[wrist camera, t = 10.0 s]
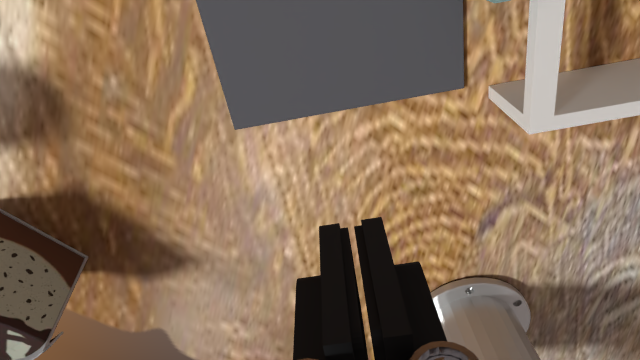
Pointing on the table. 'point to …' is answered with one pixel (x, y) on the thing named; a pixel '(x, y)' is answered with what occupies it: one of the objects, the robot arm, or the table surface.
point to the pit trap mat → (330, 54)
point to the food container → (33, 287)
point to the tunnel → (564, 82)
